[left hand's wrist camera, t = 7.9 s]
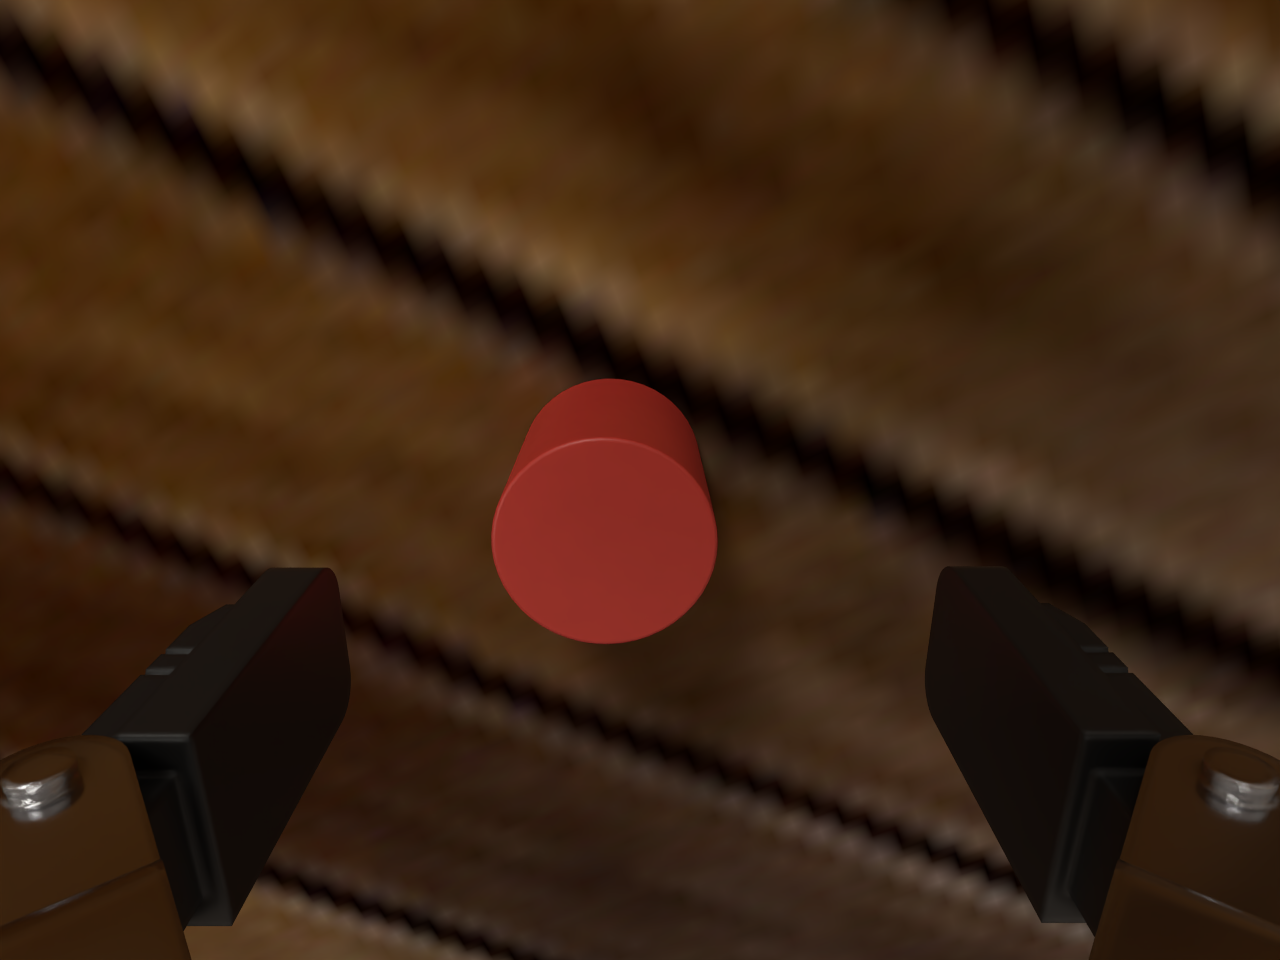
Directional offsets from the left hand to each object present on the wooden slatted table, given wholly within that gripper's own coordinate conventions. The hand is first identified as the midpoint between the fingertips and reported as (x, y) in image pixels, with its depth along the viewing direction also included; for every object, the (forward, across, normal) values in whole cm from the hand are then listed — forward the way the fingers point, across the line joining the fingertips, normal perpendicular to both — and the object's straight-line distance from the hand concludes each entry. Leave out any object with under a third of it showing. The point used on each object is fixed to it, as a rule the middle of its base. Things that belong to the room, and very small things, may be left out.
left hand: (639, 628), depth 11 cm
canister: (+7, -1, 0) cm, 7 cm away
